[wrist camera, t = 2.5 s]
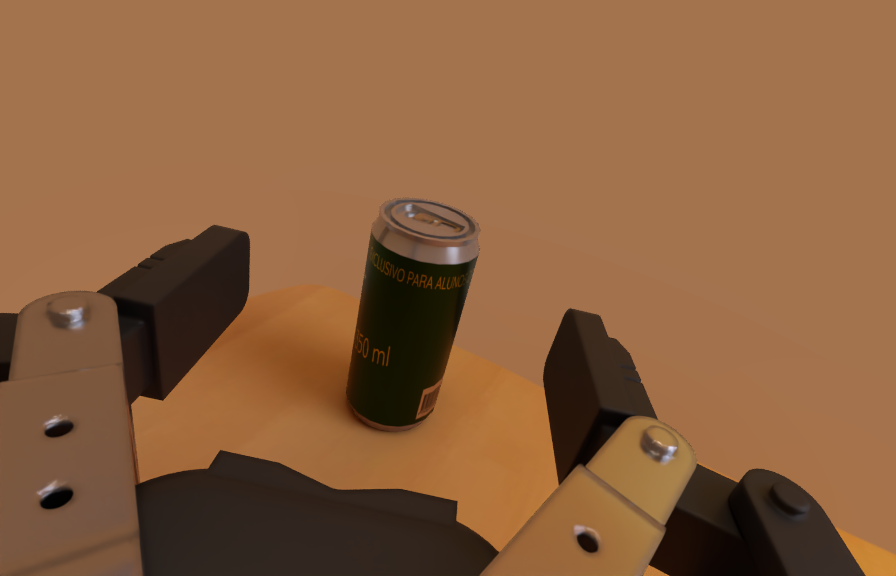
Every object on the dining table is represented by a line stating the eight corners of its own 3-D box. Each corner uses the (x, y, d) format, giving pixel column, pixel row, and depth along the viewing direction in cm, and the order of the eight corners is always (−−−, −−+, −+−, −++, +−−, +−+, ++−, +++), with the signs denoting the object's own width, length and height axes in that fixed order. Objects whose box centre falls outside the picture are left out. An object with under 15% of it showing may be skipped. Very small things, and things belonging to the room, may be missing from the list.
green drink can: (446, 393, 30) (498, 221, 24) (410, 451, 26) (463, 257, 20) (373, 360, 31) (405, 188, 26) (326, 409, 27) (352, 214, 21)
